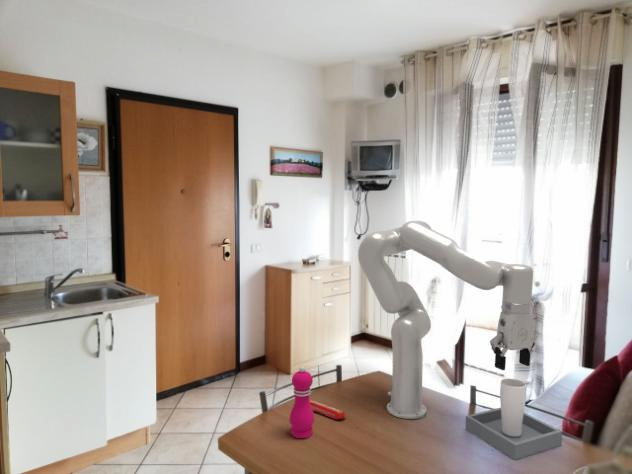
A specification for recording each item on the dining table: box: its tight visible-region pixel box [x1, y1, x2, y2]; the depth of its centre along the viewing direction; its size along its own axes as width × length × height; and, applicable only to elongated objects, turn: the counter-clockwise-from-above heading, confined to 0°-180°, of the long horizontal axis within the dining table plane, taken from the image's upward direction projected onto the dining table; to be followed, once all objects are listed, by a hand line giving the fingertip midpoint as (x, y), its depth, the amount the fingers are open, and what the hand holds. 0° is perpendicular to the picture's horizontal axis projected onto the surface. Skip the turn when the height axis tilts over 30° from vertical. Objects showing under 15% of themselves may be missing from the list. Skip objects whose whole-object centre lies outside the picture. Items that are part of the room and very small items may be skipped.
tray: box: [464, 407, 563, 461], centre depth 128 cm, size 18×18×4 cm
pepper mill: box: [289, 366, 315, 439], centre depth 128 cm, size 7×7×20 cm
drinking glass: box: [499, 378, 527, 437], centre depth 127 cm, size 7×7×15 cm
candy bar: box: [309, 399, 347, 420], centre depth 142 cm, size 16×4×3 cm, turn 51°
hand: (512, 366), depth 127 cm, fingers open, 9 cm apart
